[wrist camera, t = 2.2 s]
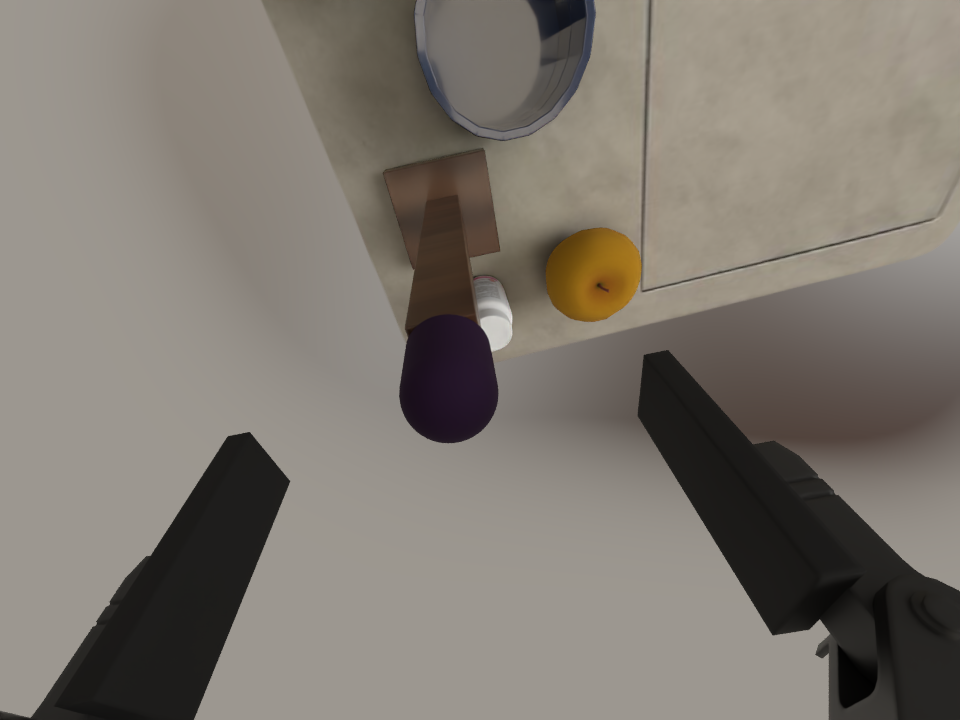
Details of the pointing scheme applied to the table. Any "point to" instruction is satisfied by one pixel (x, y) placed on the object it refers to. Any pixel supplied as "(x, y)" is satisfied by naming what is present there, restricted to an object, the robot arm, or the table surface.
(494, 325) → the pill bottle
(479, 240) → the stand
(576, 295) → the apple
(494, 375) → the purple plum
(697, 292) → the table surface
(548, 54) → the pot
